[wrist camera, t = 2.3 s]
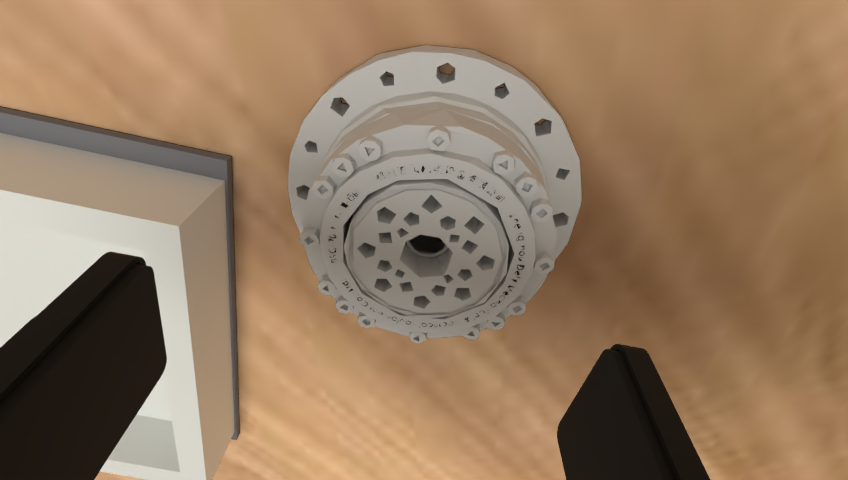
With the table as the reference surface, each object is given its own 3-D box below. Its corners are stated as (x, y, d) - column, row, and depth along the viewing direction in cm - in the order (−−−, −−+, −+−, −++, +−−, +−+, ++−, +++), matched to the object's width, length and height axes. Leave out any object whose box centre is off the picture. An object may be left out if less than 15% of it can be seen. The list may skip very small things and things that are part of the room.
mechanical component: (625, 208, 17) (458, -35, 13) (671, 283, 13) (457, -26, 9) (419, 326, 21) (244, 167, 17) (410, 410, 17) (184, 230, 13)
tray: (224, 180, 16) (178, 226, 14) (234, 431, 25) (207, 490, 22) (-226, 84, 16) (-368, 114, 13) (-59, 377, 24) (-124, 432, 21)
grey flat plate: (231, 156, 16) (226, 161, 16) (239, 433, 26) (236, 440, 25) (-228, 57, 16) (-244, 60, 15) (-48, 381, 25) (-56, 387, 24)
